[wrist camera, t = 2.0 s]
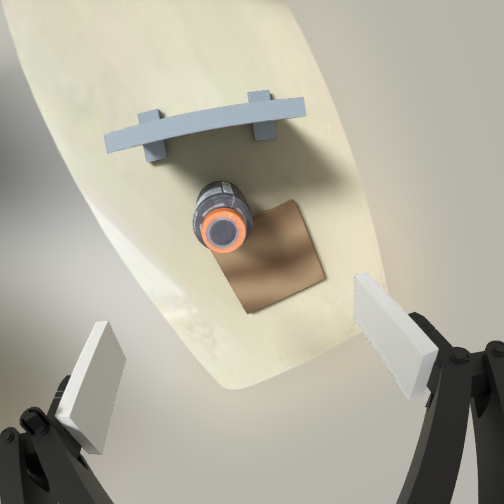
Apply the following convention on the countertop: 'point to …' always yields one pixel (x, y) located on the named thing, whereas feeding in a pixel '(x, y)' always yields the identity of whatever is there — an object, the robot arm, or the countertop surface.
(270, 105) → the screen
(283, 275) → the plinth
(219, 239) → the pill bottle
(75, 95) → the countertop surface
